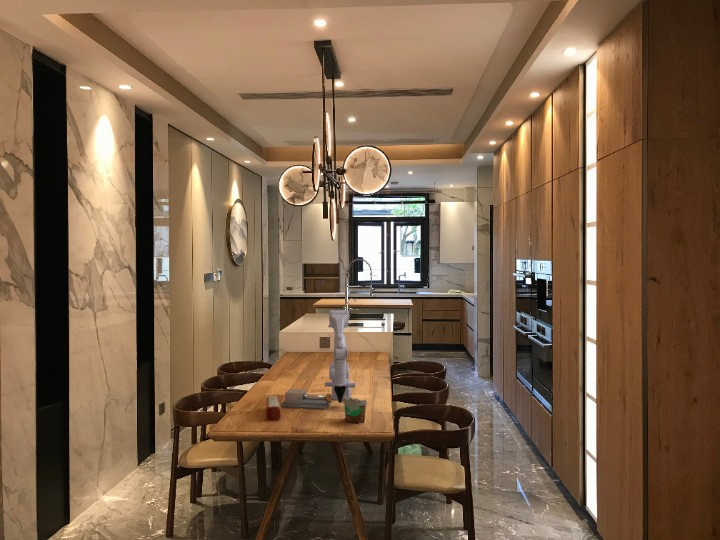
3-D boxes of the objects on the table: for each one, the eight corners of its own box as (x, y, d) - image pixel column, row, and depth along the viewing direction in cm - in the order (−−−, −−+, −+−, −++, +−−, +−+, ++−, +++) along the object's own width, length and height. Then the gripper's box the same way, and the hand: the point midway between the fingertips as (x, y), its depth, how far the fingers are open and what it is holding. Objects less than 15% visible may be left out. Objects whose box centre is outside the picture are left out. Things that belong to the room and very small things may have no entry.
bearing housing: (306, 400, 270) (306, 389, 270) (301, 405, 262) (301, 393, 262) (290, 400, 272) (290, 388, 272) (285, 404, 264) (285, 392, 264)
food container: (336, 420, 241) (336, 397, 241) (347, 417, 245) (347, 394, 245) (356, 426, 232) (356, 402, 232) (366, 423, 237) (367, 400, 236)
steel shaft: (331, 401, 266) (331, 392, 266) (329, 404, 262) (329, 394, 262) (299, 400, 269) (298, 391, 269) (296, 402, 265) (296, 393, 265)
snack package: (266, 408, 260) (266, 394, 260) (280, 408, 261) (280, 393, 261) (265, 421, 239) (265, 406, 239) (281, 421, 240) (281, 405, 240)
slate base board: (331, 402, 271) (331, 400, 271) (324, 409, 257) (324, 408, 257) (288, 399, 275) (288, 398, 275) (279, 407, 261) (278, 405, 261)
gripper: (323, 374, 260) (323, 403, 260) (353, 376, 258) (353, 405, 258) (326, 371, 267) (326, 399, 267) (356, 372, 264) (356, 401, 265)
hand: (340, 402), depth 263 cm, fingers closed
